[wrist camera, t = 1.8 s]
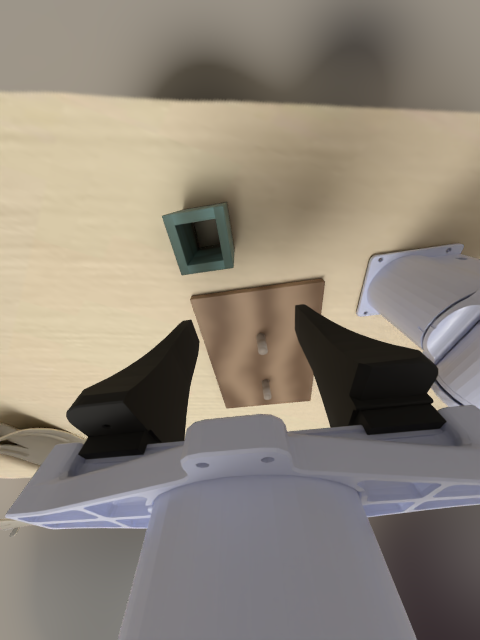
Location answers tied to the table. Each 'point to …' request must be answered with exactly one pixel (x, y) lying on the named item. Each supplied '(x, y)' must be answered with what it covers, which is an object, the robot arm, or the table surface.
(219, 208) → the sleeve
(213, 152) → the table surface
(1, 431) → the portable electronic device stand
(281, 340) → the pin board
